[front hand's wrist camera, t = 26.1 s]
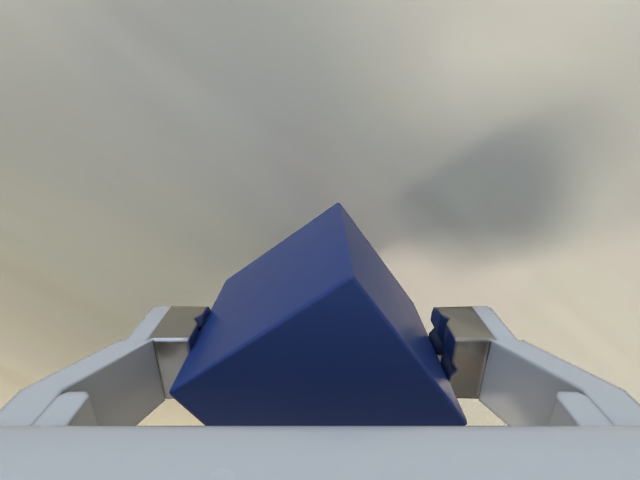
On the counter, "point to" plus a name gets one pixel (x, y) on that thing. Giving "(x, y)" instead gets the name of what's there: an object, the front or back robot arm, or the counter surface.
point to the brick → (316, 342)
